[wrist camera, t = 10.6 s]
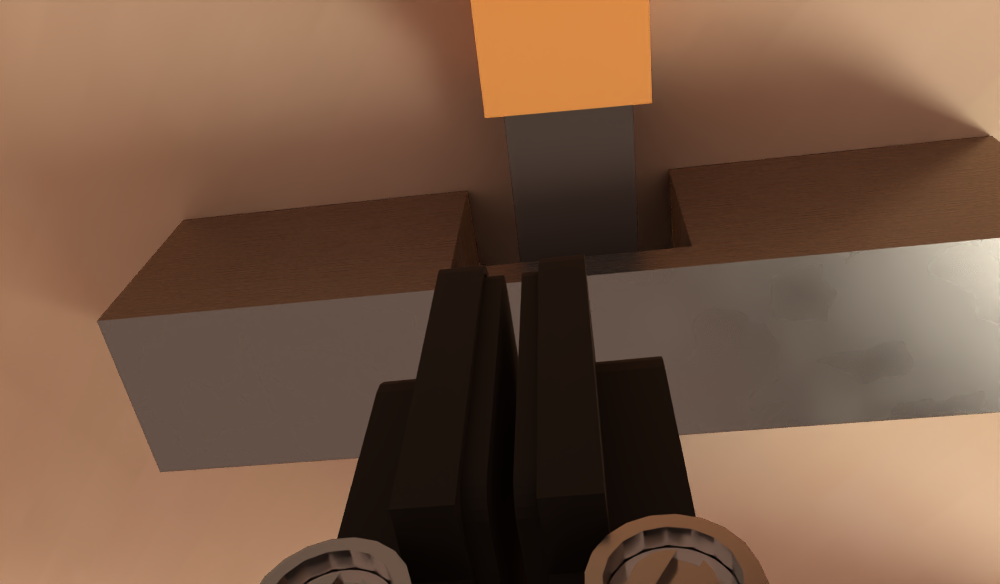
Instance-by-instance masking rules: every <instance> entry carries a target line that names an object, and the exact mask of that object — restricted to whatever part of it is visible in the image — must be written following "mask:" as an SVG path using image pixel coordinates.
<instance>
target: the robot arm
mask: <svg viewBox="0 0 1000 584" xmlns="http://www.w3.org/2000/svg"><path fill="white" fill-rule="evenodd" d="M260 584H769V582H768V580H767V578H766V576H765V574H764V572H763V569H762V567H761V565H760V563H759V561H758V560H757V559H756V557H755V556H754V554H753V553H752V552H751V550H750V549H749V547H748V546H747V544H746V543H745V542H743V541H742V540H741V539H740V538H738V537H737V536H736V535H734V534H733V533H732V532H730V531H729V530H728V529H726V528H725V527H722V526H720V525H717V524H715V523H713V522H710V521H708V520H705V519H703V518H698V517H696V516H695V511H694V506H693V501H692V496H691V492H690V487H689V482H688V477H687V472H686V467H685V462H684V458H683V453H682V448H681V443H680V438H679V433H678V428H677V423H676V419H675V414H674V409H673V404H672V399H671V394H670V389H669V384H668V380H667V375H666V370H665V365H664V361H663V358H662V356H657V357H646V358H635V359H624V360H614V361H603V362H596V357H595V347H594V338H593V329H592V319H591V310H590V301H589V291H588V282H587V273H586V263H585V255H584V254H583V255H573V256H564V257H554V258H545V259H539V265H538V271H536V272H527V273H522V280H521V304H520V328H519V352H517V346H516V340H515V334H514V327H513V321H512V315H511V309H510V302H509V296H508V290H507V284H506V280H505V276H504V275H498V276H489V274H488V271H487V268H486V266H485V265H479V266H469V267H460V268H451V269H441V270H439V272H438V276H437V280H436V285H435V290H434V295H433V299H432V304H431V309H430V314H429V319H428V323H427V328H426V333H425V338H424V343H423V347H422V352H421V357H420V362H419V366H418V371H417V376H416V379H408V380H398V381H387V382H383V383H381V384H380V385H379V388H378V390H377V393H376V396H375V400H374V404H373V407H372V411H371V415H370V418H369V422H368V426H367V430H366V433H365V437H364V441H363V445H362V448H361V452H360V456H359V459H358V463H357V467H356V471H355V474H354V478H353V482H352V486H351V489H350V493H349V497H348V500H347V504H346V508H345V512H344V515H343V519H342V523H341V527H340V530H339V534H338V538H337V539H331V540H327V541H324V542H321V543H318V544H315V545H311V546H308V547H306V548H304V549H302V550H300V551H299V552H297V553H295V554H293V555H291V556H290V557H288V558H286V559H284V560H283V561H282V562H281V563H280V564H279V565H277V566H276V567H275V568H274V569H273V570H272V571H271V572H269V573H268V574H267V575H266V576H265V577H264V578H263V580H262V581H261V583H260Z"/></svg>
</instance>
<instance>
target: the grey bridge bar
mask: <svg viewBox="0 0 1000 584" xmlns="http://www.w3.org/2000/svg"><path fill="white" fill-rule="evenodd" d="M669 182H670V205H671V228H672V248H670V249H660V250H649V251H639V252H628V253H617V254H607V255H596V256H586V257H585V263H586V273H587V282H588V291H589V301H590V310H591V319H592V329H593V338H594V347H595V357H596V362H603V361H614V360H624V359H635V358H646V357H657V356H662V358H663V361H664V365H665V370H666V375H667V380H668V384H669V389H670V394H671V399H672V404H673V409H674V414H675V419H676V423H677V428H678V433H679V435H687V434H701V433H715V432H729V431H744V430H758V429H772V428H786V427H800V426H814V425H828V424H842V423H856V422H870V421H884V420H898V419H912V418H926V417H940V416H954V415H968V414H982V413H996V412H1000V142H999V141H998V140H996V139H995V138H994V137H993V136H985V137H976V138H966V139H957V140H947V141H937V142H928V143H918V144H909V145H899V146H890V147H880V148H870V149H861V150H851V151H842V152H832V153H823V154H813V155H803V156H794V157H784V158H775V159H765V160H756V161H746V162H736V163H727V164H717V165H708V166H698V167H689V168H679V169H670V170H669ZM538 265H539V261H533V262H522V263H512V264H501V265H491V266H486V268H487V271H488V274H489V276H498V275H504V276H505V280H506V284H507V290H508V296H509V302H510V309H511V315H512V321H513V327H514V334H515V340H516V346H517V352H519V328H520V304H521V280H522V273H527V272H536V271H538ZM469 266H479V259H478V253H477V247H476V240H475V234H474V228H473V222H472V216H471V210H470V204H469V198H468V192H467V191H459V192H449V193H440V194H430V195H421V196H411V197H402V198H392V199H382V200H373V201H363V202H354V203H344V204H335V205H325V206H315V207H306V208H296V209H287V210H277V211H268V212H258V213H248V214H239V215H229V216H220V217H210V218H201V219H191V220H183V221H182V222H181V223H180V225H179V226H178V227H177V228H176V229H175V230H174V232H173V233H172V234H171V235H170V236H169V237H168V239H167V240H166V241H165V242H164V243H163V244H162V246H161V247H160V248H159V249H158V250H157V252H156V253H155V254H154V255H153V256H152V257H151V259H150V260H149V261H148V262H147V263H146V264H145V266H144V267H143V268H142V269H141V270H140V271H139V273H138V274H137V275H136V276H135V277H134V278H133V280H132V281H131V282H130V283H129V284H128V285H127V287H126V288H125V289H124V290H123V291H122V292H121V294H120V295H119V296H118V297H117V298H116V299H115V301H114V302H113V303H112V304H111V305H110V306H109V308H108V309H107V310H106V311H105V312H104V313H103V315H102V316H101V317H100V318H99V319H98V321H97V322H98V325H99V327H100V329H101V332H102V334H103V336H104V339H105V341H106V344H107V346H108V348H109V351H110V353H111V356H112V358H113V360H114V363H115V365H116V368H117V370H118V372H119V375H120V377H121V379H122V382H123V384H124V387H125V389H126V391H127V394H128V396H129V399H130V401H131V403H132V406H133V408H134V411H135V413H136V415H137V418H138V420H139V422H140V425H141V427H142V430H143V432H144V434H145V437H146V439H147V442H148V444H149V446H150V449H151V451H152V454H153V456H154V458H155V461H156V463H157V465H158V468H159V470H160V472H168V471H182V470H196V469H210V468H224V467H238V466H252V465H266V464H280V463H294V462H308V461H322V460H336V459H350V458H359V456H360V452H361V448H362V445H363V441H364V437H365V433H366V430H367V426H368V422H369V418H370V415H371V411H372V407H373V404H374V400H375V396H376V393H377V390H378V388H379V385H380V384H381V383H383V382H387V381H398V380H408V379H416V376H417V371H418V366H419V362H420V357H421V352H422V347H423V343H424V338H425V333H426V328H427V323H428V319H429V314H430V309H431V304H432V299H433V295H434V290H435V285H436V280H437V276H438V272H439V270H441V269H451V268H460V267H469Z"/></svg>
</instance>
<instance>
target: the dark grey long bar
mask: <svg viewBox="0 0 1000 584" xmlns="http://www.w3.org/2000/svg"><path fill="white" fill-rule="evenodd" d="M470 1H471V9H472V17H473V25H474V33H475V42H476V50H477V58H478V66H479V74H480V82H481V90H482V99H483V107H484V115H485V118H492V117H503V116H504V120H505V129H506V138H507V147H508V156H509V164H510V173H511V182H512V191H513V200H514V209H515V218H516V227H517V236H518V245H519V254H520V263H522V262H533V261H539V259H545V258H554V257H564V256H573V255H583V254H584V255H585V257H586V256H596V255H607V254H617V253H628V252H638V230H637V203H636V177H635V150H634V124H633V105H636V104H648V103H652V85H651V48H650V11H649V0H470Z"/></svg>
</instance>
